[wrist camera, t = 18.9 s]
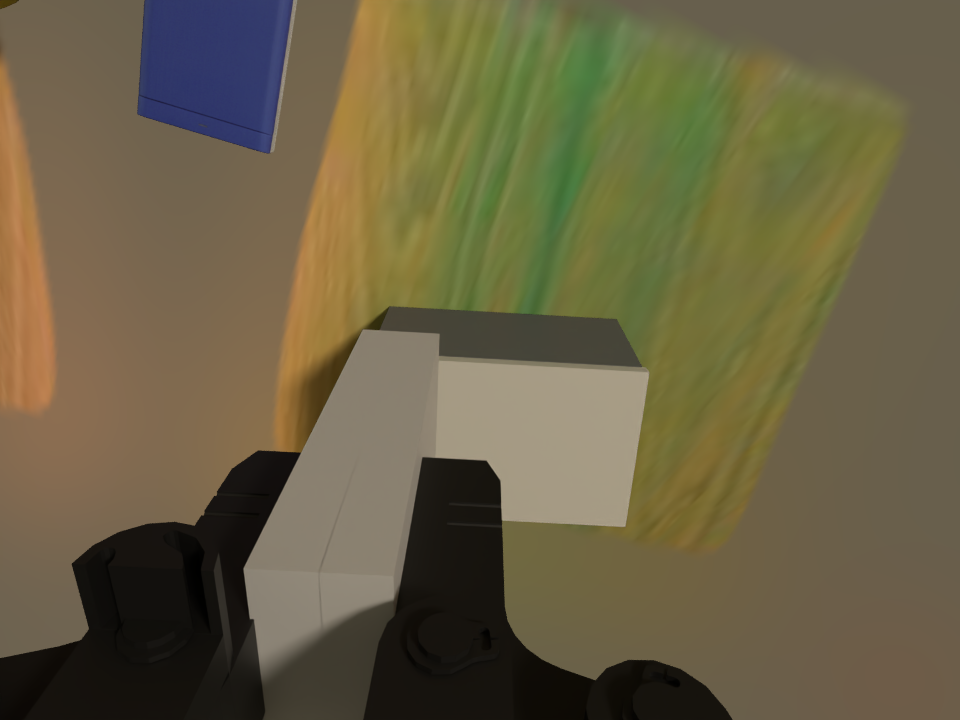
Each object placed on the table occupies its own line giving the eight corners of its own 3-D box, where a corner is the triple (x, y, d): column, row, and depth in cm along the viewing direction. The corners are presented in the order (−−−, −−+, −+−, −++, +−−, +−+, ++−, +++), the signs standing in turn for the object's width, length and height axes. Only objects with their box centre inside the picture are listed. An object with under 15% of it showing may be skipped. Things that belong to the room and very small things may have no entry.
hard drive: (149, -126, 33) (134, 114, 38) (301, -75, 34) (268, 154, 39) (163, -118, 35) (147, 113, 40) (309, -69, 36) (275, 151, 40)
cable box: (390, 429, 48) (372, 492, 41) (389, 306, 44) (370, 351, 37) (597, 441, 48) (617, 505, 41) (616, 319, 44) (642, 366, 37)
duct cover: (366, 506, 40) (364, 513, 39) (366, 351, 37) (363, 356, 36) (622, 519, 40) (625, 526, 40) (645, 367, 37) (649, 372, 36)
